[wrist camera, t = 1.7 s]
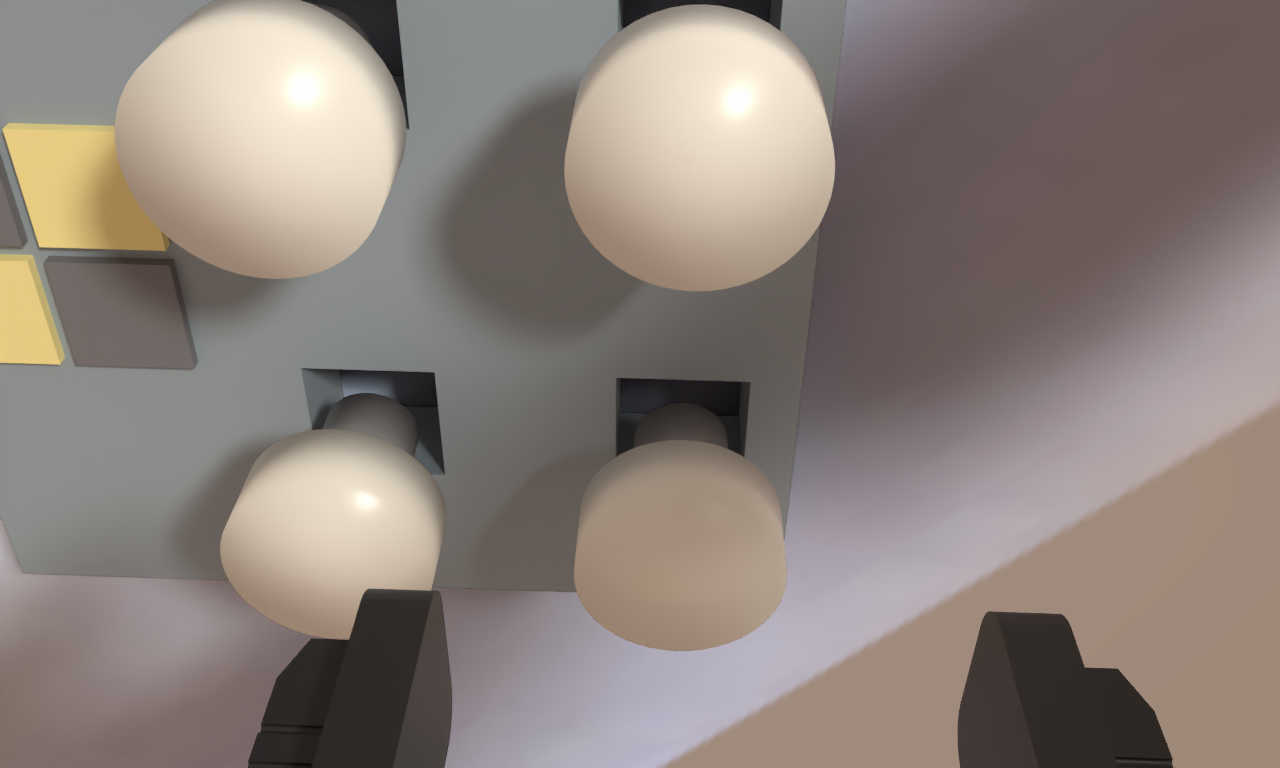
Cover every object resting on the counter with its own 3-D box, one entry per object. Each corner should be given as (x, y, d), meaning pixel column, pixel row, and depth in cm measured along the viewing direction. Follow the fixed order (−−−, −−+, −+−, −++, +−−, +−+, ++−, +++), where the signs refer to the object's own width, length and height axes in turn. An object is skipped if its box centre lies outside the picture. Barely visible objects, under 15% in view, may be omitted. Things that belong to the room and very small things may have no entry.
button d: (457, 357, 30) (423, 490, 26) (471, 502, 33) (441, 642, 29) (265, 351, 30) (201, 482, 26) (294, 496, 33) (240, 635, 29)
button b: (781, 366, 30) (796, 501, 26) (767, 512, 33) (777, 654, 29) (587, 361, 30) (571, 495, 26) (589, 506, 33) (575, 647, 29)
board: (856, -273, 25) (877, -245, 22) (771, 528, 38) (778, 606, 35) (-214, -296, 25) (-320, -271, 23) (65, 504, 38) (18, 580, 36)
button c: (421, -54, 25) (369, 36, 20) (441, 165, 27) (398, 282, 23) (183, -60, 25) (84, 28, 21) (227, 159, 27) (147, 275, 23)
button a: (823, -44, 24) (850, 48, 20) (801, 175, 27) (820, 295, 23) (582, -50, 24) (561, 41, 20) (585, 169, 27) (567, 287, 23)
